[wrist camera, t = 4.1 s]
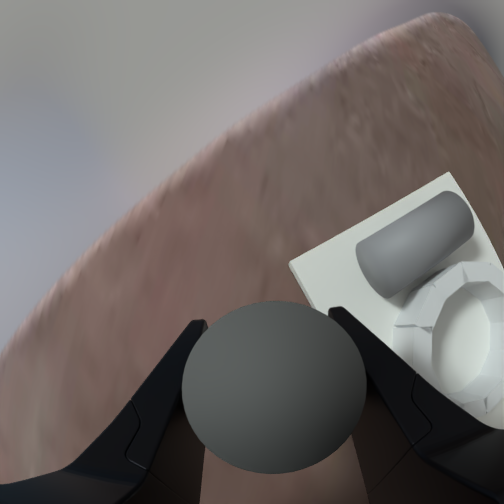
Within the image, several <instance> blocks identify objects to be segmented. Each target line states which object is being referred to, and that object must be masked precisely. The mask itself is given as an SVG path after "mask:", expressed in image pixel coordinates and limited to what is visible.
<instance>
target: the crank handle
mask: <svg viewBox="0 0 504 504" xmlns="http://www.w3.org/2000/svg"><path fill="white" fill-rule="evenodd" d="M365 398H366V373H365V367H364V364H363V360H362V357H361V355H360V353H359V350H358V348H357V346H356V345H355V343H354V342H353V340H352V338H351V337H350V336H349V335H348V333H347V332H346V331H345V330H344V329H343V328H342V327H341V326H340V325H339V324H338V323H337V322H336V321H334V320H333V319H331V318H330V317H329V316H327V315H326V314H324V313H322V312H320V311H318V310H316V309H314V308H311V307H308V306H305V305H302V304H298V303H293V302H284V301H266V302H260V303H254V304H251V305H247V306H244V307H241V308H239V309H237V310H234V311H232V312H230V313H228V314H227V315H225V316H223V317H222V318H220V319H219V320H218V321H216V322H215V323H214V324H212V325H211V326H210V327H209V328H208V329H207V330H206V331H205V332H204V333H203V334H202V336H201V337H200V338H199V340H198V341H197V342H196V344H195V345H194V347H193V349H192V351H191V353H190V355H189V357H188V360H187V362H186V365H185V369H184V374H183V381H182V399H183V404H184V409H185V412H186V415H187V418H188V421H189V423H190V425H191V427H192V429H193V431H194V432H195V434H196V435H197V437H198V438H199V439H200V441H201V442H202V443H203V444H204V445H205V446H206V447H207V448H208V449H209V450H210V451H211V452H212V453H214V454H215V455H216V456H217V457H219V458H221V459H222V460H224V461H225V462H227V463H229V464H231V465H233V466H235V467H238V468H241V469H244V470H247V471H252V472H257V473H266V474H280V473H288V472H294V471H297V470H301V469H304V468H307V467H309V466H312V465H314V464H316V463H318V462H320V461H322V460H323V459H325V458H327V457H328V456H329V455H331V454H332V453H333V452H335V451H336V450H337V449H338V448H339V447H340V446H341V445H342V444H343V443H344V442H345V441H346V440H347V438H348V437H349V436H350V435H351V433H352V432H353V430H354V428H355V427H356V425H357V423H358V421H359V419H360V416H361V414H362V411H363V407H364V404H365Z"/></svg>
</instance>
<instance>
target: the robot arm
mask: <svg viewBox="0 0 504 504" xmlns="http://www.w3.org/2000/svg"><path fill="white" fill-rule="evenodd" d="M328 316H329V317H330V318H331V319H333V320H334V321H336V322H337V323H338V324H339V325H340V326H341V327H342V328H343V329H344V330H345V331H346V332H347V333H348V335H349V336H350V337H351V338H352V340H353V342H354V343H355V345H356V346H357V348H358V350H359V353H360V355H361V357H362V360H363V364H364V367H365V373H366V398H365V404H364V407H363V411H362V414H361V416H360V419H359V421H358V423H357V425H356V427H355V428H354V430H353V432H352V433H351V434H352V438H353V442H354V445H355V449H356V453H357V456H358V460H359V464H360V467H361V471H362V475H363V479H364V483H365V487H366V490H367V494H368V499H369V503H370V504H504V429H497V428H493V427H490V426H488V425H486V424H484V423H482V422H481V421H479V420H478V419H476V418H475V417H473V416H472V415H471V414H469V413H468V412H466V411H465V410H464V409H462V408H461V407H460V406H458V405H457V404H455V403H454V402H453V401H451V400H450V399H449V398H447V397H446V396H445V395H443V394H442V393H441V392H439V391H438V390H437V389H436V388H434V387H433V386H432V385H431V384H430V383H429V382H427V381H426V380H425V379H424V378H423V377H422V376H421V375H420V374H419V373H416V371H415V370H414V369H413V368H412V367H411V366H409V365H408V364H407V363H406V362H405V361H404V360H403V359H402V358H401V357H399V356H398V355H397V354H396V353H395V352H394V351H393V350H392V349H391V348H389V347H388V346H387V345H386V344H385V343H384V342H383V341H382V340H380V339H379V338H378V337H377V336H376V335H375V334H374V333H372V332H371V331H370V330H369V329H368V328H367V327H366V326H365V325H363V324H362V323H361V322H360V321H359V320H358V319H357V318H355V317H354V316H353V315H352V314H351V313H350V312H349V311H348V310H346V309H345V308H344V307H342V306H337V307H330V308H329V310H328ZM207 329H208V326H207V323H206V321H205V320H204V319H200V320H192V321H191V322H190V323H189V324H188V325H187V327H186V328H185V329H184V331H183V332H182V333H181V334H180V336H179V337H178V338H177V340H176V341H175V342H174V344H173V345H172V346H171V347H170V349H169V350H168V351H167V353H166V354H165V355H164V356H163V358H162V359H161V360H160V362H159V363H158V364H157V365H156V367H155V368H154V369H153V371H152V372H151V373H150V374H149V376H148V377H147V378H146V380H145V381H144V382H143V384H142V385H141V386H140V387H139V389H138V390H137V391H136V393H135V394H134V395H133V396H132V398H131V400H132V401H131V400H129V401H128V403H127V404H126V405H125V407H124V408H123V409H122V410H121V412H120V413H119V414H118V415H117V417H116V418H115V419H114V420H113V421H112V422H111V424H110V425H109V426H108V427H107V428H106V429H105V430H104V431H103V432H102V433H101V434H100V435H99V436H98V437H97V438H96V439H95V440H94V441H93V442H92V444H91V445H90V446H89V447H88V448H87V449H86V450H85V451H84V452H83V453H82V454H81V455H80V456H79V457H78V458H77V459H76V460H74V461H73V462H72V463H71V464H69V465H68V466H66V467H65V468H63V469H61V470H58V471H55V472H52V473H48V474H45V475H41V476H37V477H34V478H30V479H26V480H22V481H18V482H14V483H9V484H0V504H199V503H200V492H201V482H202V472H203V462H204V453H205V445H204V444H203V443H202V442H201V441H200V439H199V438H198V437H197V435H196V434H195V432H194V431H193V429H192V427H191V425H190V423H189V421H188V418H187V415H186V412H185V409H184V404H183V399H182V381H183V374H184V369H185V365H186V362H187V360H188V357H189V355H190V353H191V351H192V349H193V347H194V345H195V344H196V342H197V341H198V340H199V338H200V337H201V336H202V334H203V333H204V332H205V331H206V330H207Z"/></svg>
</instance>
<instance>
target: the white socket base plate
mask: <svg viewBox="0 0 504 504" xmlns="http://www.w3.org/2000/svg"><path fill="white" fill-rule="evenodd" d="M289 267H290V269H291V271H292V273H293V274H294V276H295V278H296V280H297V281H298V283H299V285H300V287H301V289H302V290H303V292H304V294H305V296H306V298H307V299H308V301H309V303H310V305H311V307H312V308H314V309H316V310H318V311H320V312H322V313H324V314H326V315H327V316H328V310H329V308H330V307H337V306H342V307H344V308H345V309H346V310H348V311H349V312H350V313H351V314H352V315H353V316H354V317H355V318H357V319H358V320H359V321H360V322H361V323H362V324H363V325H365V326H366V327H367V328H368V329H369V330H370V331H371V332H372V333H374V334H375V335H376V336H377V337H378V338H379V339H380V340H382V341H383V342H384V343H385V344H386V345H387V346H388V347H389V348H391V349H392V350H393V351H394V352H395V353H396V354H397V355H398V356H399V357H401V358H402V359H403V360H404V361H405V362H406V363H407V364H408V365H409V366H411V367H412V368H413V369H414V370H415V371H416V373H419V374H420V375H421V376H422V377H423V378H424V379H425V380H426V381H427V382H429V383H430V384H431V385H432V386H433V387H434V388H436V389H437V390H438V391H439V392H441V393H442V394H443V395H445V396H446V397H447V398H449V399H450V400H451V401H453V402H454V403H455V404H457V405H458V406H460V407H461V408H462V409H464V410H465V411H466V412H468V413H469V414H471V415H472V416H473V417H475V418H476V419H478V420H479V421H481V422H482V423H484V424H486V425H488V426H490V427H493V428H497V429H504V269H503V267H502V265H501V263H500V260H499V258H498V256H497V254H496V252H495V250H494V248H493V246H492V244H491V242H490V240H489V238H488V236H487V234H486V232H485V230H484V229H483V227H482V225H481V223H480V221H479V219H478V218H477V216H476V214H475V212H474V211H473V209H472V207H471V206H470V204H469V202H468V201H467V199H466V197H465V196H464V194H463V192H462V191H461V189H460V188H459V186H458V184H457V183H456V181H455V180H454V178H453V177H452V175H451V174H450V172H447V173H445V174H444V175H442V176H440V177H439V178H437V179H435V180H434V181H432V182H430V183H429V184H427V185H425V186H423V187H422V188H420V189H418V190H417V191H415V192H413V193H411V194H410V195H408V196H406V197H404V198H403V199H401V200H399V201H397V202H396V203H394V204H392V205H391V206H389V207H387V208H385V209H383V210H382V211H380V212H378V213H376V214H375V215H373V216H371V217H369V218H368V219H366V220H364V221H362V222H361V223H359V224H357V225H355V226H353V227H352V228H350V229H348V230H346V231H344V232H343V233H341V234H339V235H337V236H335V237H334V238H332V239H330V240H328V241H326V242H325V243H323V244H321V245H319V246H317V247H315V248H314V249H312V250H310V251H308V252H306V253H304V254H303V255H301V256H299V257H297V258H295V259H293V260H292V261H290V262H289Z"/></svg>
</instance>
